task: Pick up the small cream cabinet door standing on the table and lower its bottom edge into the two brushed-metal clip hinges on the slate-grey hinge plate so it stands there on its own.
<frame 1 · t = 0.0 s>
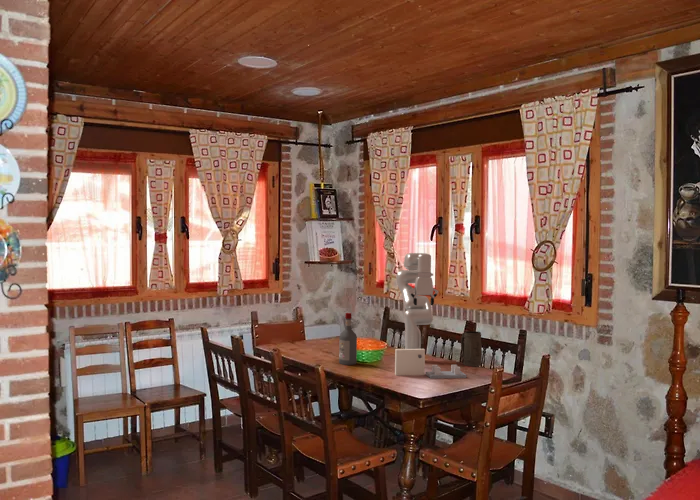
hand: (423, 305, 347), 37 cm above the table, tool pointing down, fingers open, 9 cm apart
hinge plate: (445, 376, 330), on the table
liquor: (347, 363, 360), on the table
beer stein: (469, 364, 364), on the table
cabinet door: (409, 374, 332), on the table
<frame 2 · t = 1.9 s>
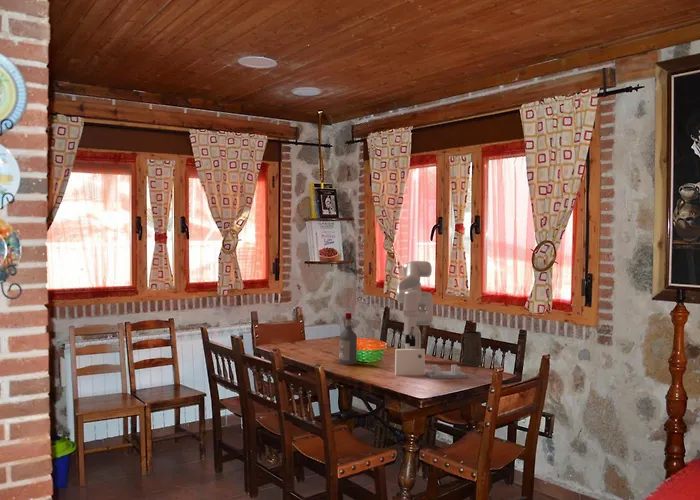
hand: (410, 344, 332), 16 cm above the table, tool pointing down, fingers open, 9 cm apart
nothing on the table moved.
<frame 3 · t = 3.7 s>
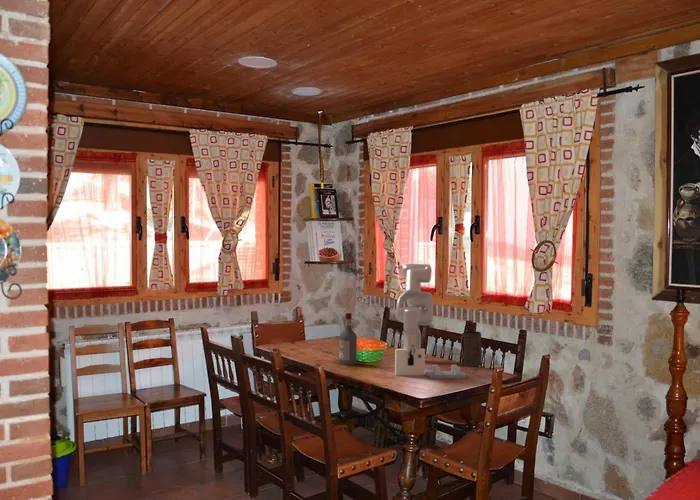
hand: (409, 364, 332), 6 cm above the table, tool pointing down, fingers closed on cabinet door, 3 cm apart
cabinet door: (409, 374, 332), on the table, touching gripper
everything else where it was.
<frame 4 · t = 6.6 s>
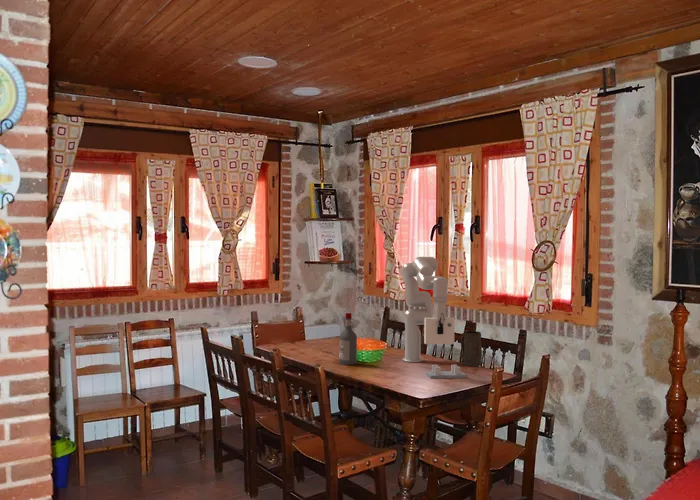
hand: (439, 333, 330), 23 cm above the table, tool pointing down, fingers closed on cabinet door, 3 cm apart
cabinet door: (439, 343, 330), point 18 cm above the table, touching gripper
everything else where it was.
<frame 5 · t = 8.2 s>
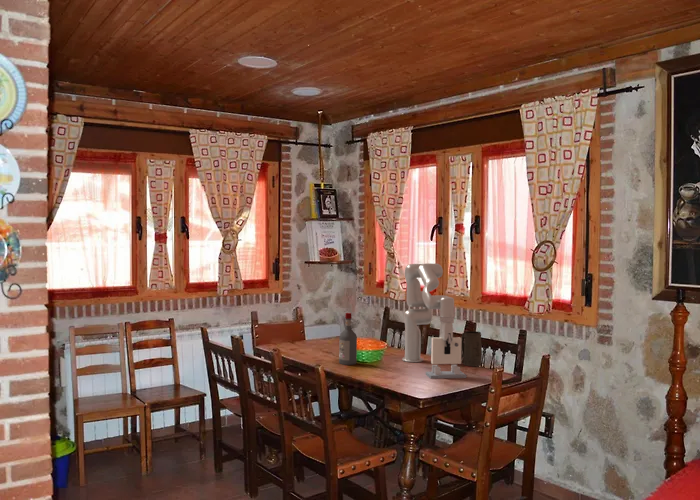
hand: (446, 353, 330), 13 cm above the table, tool pointing down, fingers closed on cabinet door, 3 cm apart
cabinet door: (446, 363, 330), point 7 cm above the table, touching gripper
everything else where it was.
when the fingers open (8 cm above the table, at t = 9.7 s): cabinet door stays where it is, resting on hinge plate.
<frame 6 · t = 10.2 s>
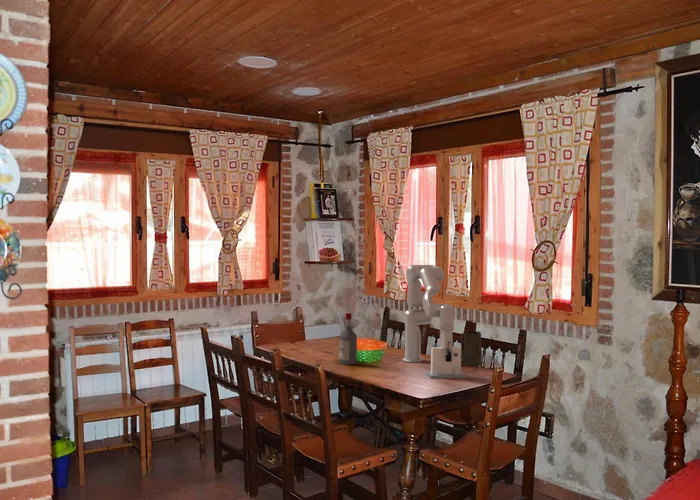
hand: (446, 359, 330), 9 cm above the table, tool pointing down, fingers open, 8 cm apart
cabinet door: (445, 373, 330), point 1 cm above the table, touching hinge plate
everything else where it was.
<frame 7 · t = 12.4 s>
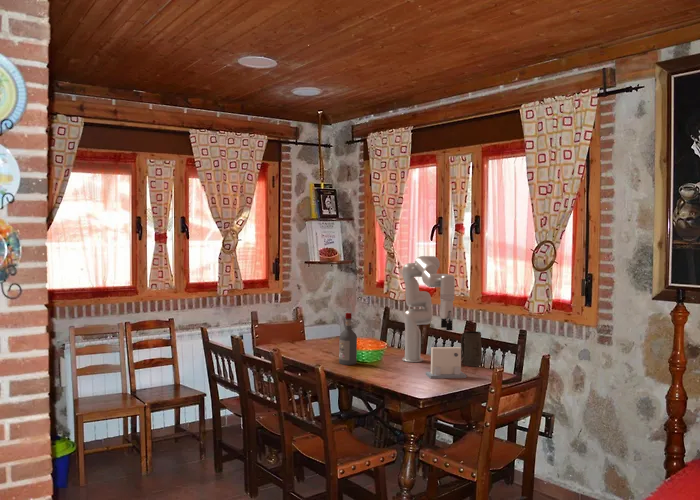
hand: (446, 328, 330), 26 cm above the table, tool pointing down, fingers open, 9 cm apart
nothing on the table moved.
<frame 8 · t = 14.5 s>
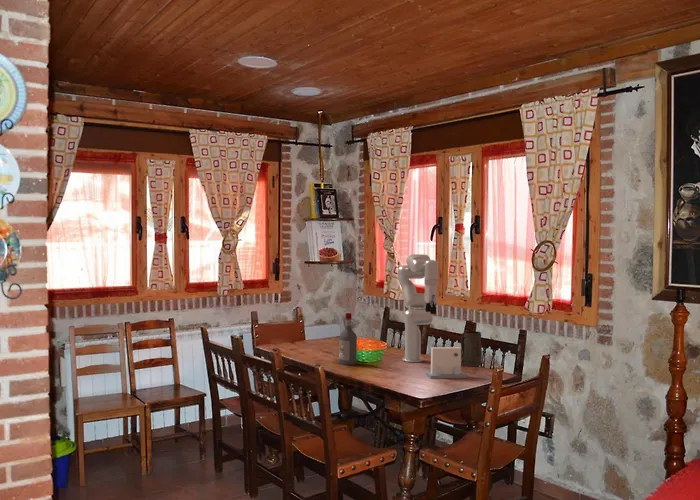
hand: (430, 312, 340), 33 cm above the table, tool pointing down, fingers open, 9 cm apart
nothing on the table moved.
at the end: cabinet door 0.1 cm off-centre on the hinge plate, point 1.5 cm above the hinge plate's base; cabinet door tilted 0°; the gripper is holding nothing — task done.
